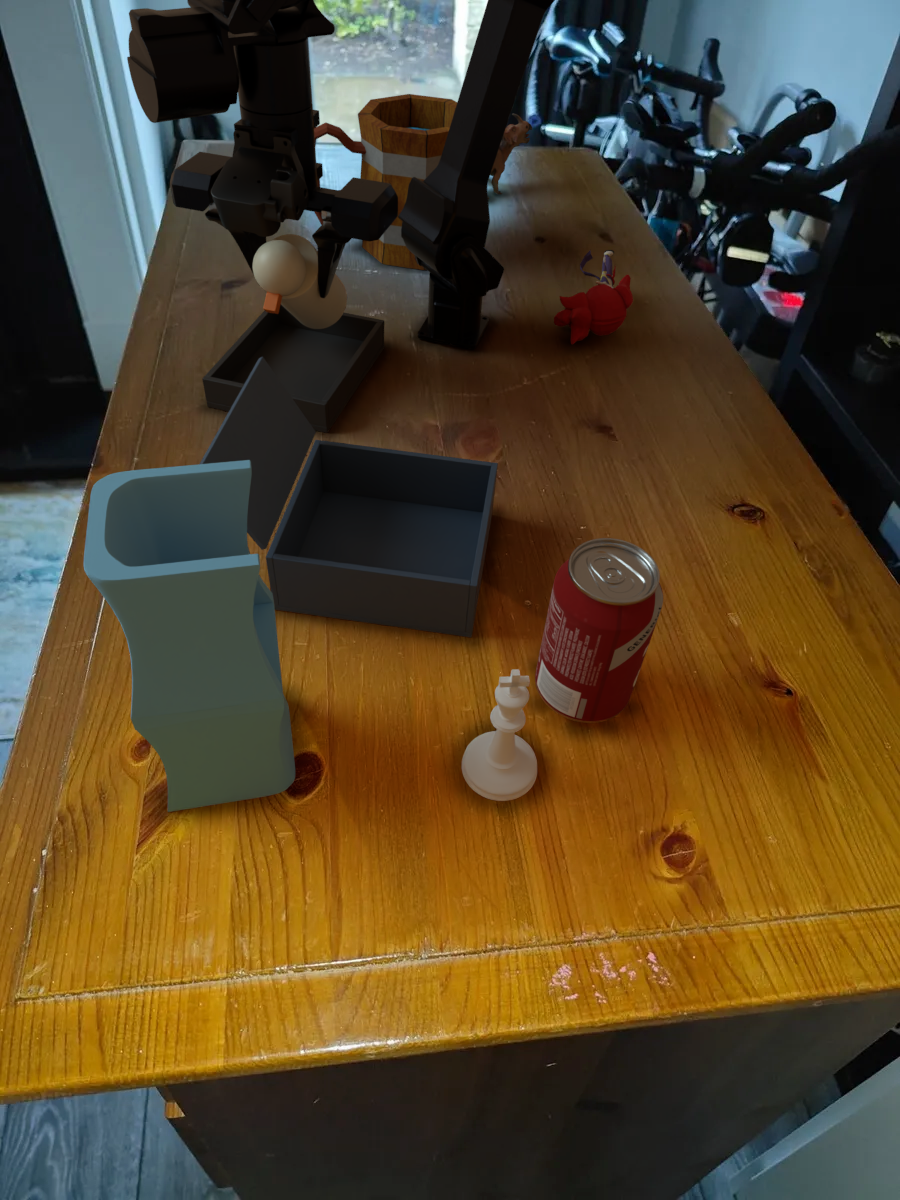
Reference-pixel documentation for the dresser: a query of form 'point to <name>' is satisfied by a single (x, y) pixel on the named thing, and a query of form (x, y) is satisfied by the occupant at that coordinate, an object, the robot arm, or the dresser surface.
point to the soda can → (598, 629)
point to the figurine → (596, 303)
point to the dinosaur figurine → (509, 148)
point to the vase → (194, 628)
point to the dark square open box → (385, 538)
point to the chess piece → (503, 746)
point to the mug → (397, 155)
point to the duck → (297, 282)
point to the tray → (301, 362)
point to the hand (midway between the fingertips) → (293, 290)
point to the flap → (264, 446)
